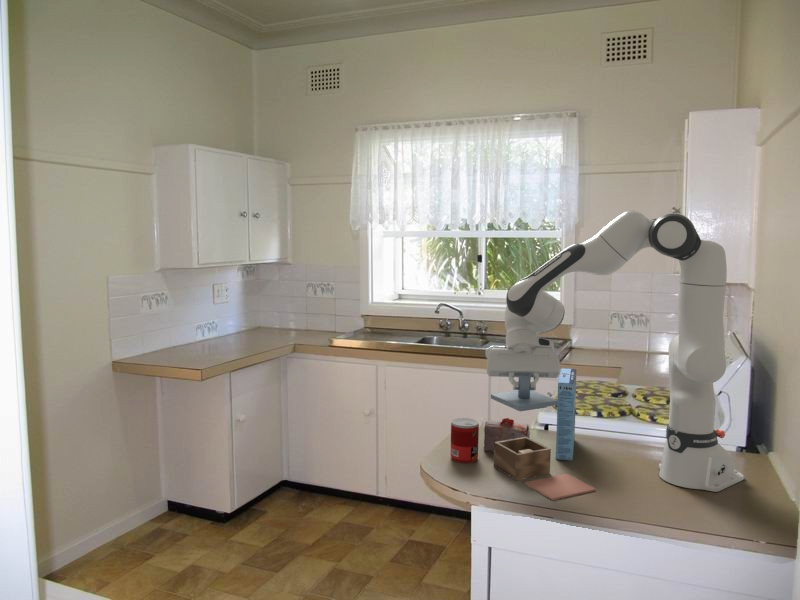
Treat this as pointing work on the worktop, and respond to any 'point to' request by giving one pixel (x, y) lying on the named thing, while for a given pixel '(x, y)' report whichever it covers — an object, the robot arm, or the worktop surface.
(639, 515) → the worktop surface
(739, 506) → the worktop surface
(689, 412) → the robot arm
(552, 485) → the mat
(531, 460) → the crate
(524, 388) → the lid
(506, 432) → the food item
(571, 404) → the blue box
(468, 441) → the canned food
